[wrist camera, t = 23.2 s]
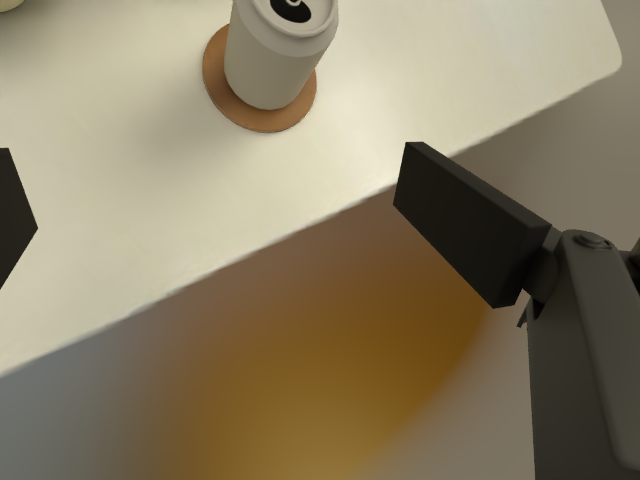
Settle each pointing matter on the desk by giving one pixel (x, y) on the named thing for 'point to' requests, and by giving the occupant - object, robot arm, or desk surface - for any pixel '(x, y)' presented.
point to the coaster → (240, 109)
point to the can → (276, 47)
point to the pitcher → (9, 4)
